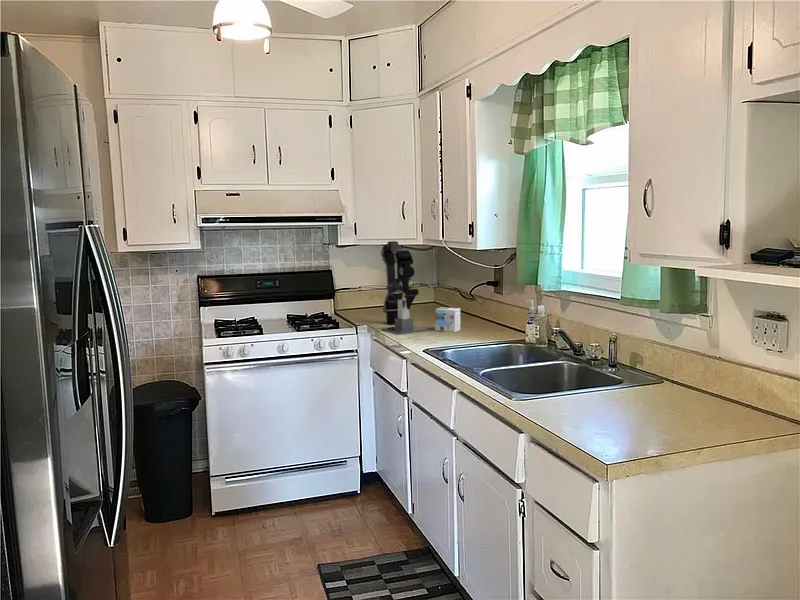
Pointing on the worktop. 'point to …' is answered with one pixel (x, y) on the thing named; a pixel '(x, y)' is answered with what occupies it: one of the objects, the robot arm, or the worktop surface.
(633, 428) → the worktop surface
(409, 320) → the stand
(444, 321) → the light bulb box
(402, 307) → the column
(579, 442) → the worktop surface
